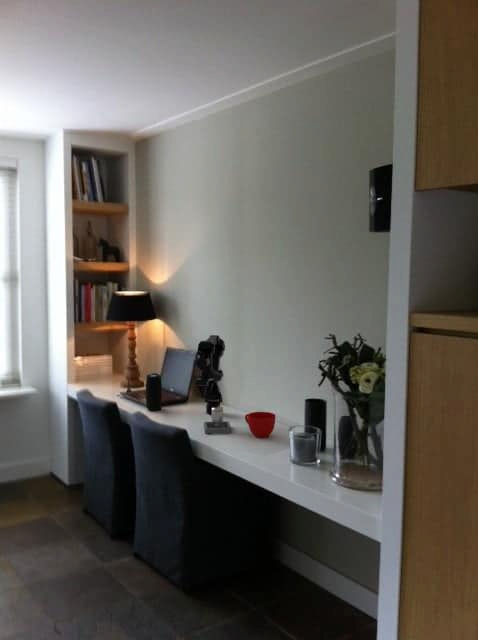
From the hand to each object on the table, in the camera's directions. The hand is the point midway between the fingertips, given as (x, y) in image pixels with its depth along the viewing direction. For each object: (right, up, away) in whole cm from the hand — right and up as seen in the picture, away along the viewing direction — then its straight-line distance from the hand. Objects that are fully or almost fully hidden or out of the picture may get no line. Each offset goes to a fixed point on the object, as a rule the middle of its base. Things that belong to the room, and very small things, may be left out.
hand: (206, 395), depth 313 cm
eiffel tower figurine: (-50, -8, +57) cm, 76 cm away
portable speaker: (-30, -11, +25) cm, 40 cm away
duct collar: (+6, -15, -16) cm, 22 cm away
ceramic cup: (+26, -16, -24) cm, 39 cm away
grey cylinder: (+6, -15, -16) cm, 22 cm away
